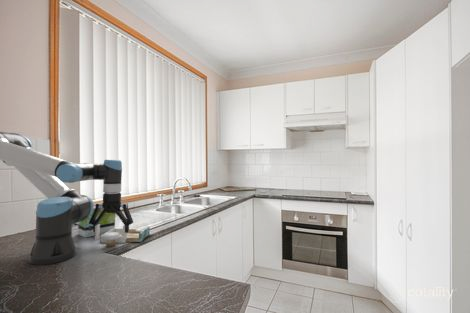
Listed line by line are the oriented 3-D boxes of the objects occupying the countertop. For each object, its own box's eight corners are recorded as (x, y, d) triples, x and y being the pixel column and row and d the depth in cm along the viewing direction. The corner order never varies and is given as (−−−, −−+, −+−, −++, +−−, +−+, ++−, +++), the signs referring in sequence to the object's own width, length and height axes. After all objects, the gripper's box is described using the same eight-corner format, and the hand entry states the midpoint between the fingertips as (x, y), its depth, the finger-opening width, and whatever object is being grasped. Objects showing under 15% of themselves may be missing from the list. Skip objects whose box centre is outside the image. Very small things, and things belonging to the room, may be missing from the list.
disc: (114, 240, 108) (114, 236, 108) (99, 240, 108) (99, 236, 108) (122, 235, 115) (122, 232, 115) (107, 235, 115) (107, 232, 115)
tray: (140, 242, 116) (140, 233, 116) (114, 241, 116) (115, 233, 116) (149, 234, 129) (149, 226, 129) (126, 233, 128) (126, 226, 129)
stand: (112, 247, 109) (112, 239, 109) (104, 246, 109) (105, 239, 109) (116, 244, 113) (116, 236, 113) (108, 244, 113) (109, 236, 113)
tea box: (85, 238, 121) (86, 208, 121) (77, 234, 127) (78, 206, 127) (115, 231, 133) (116, 205, 133) (106, 228, 139) (107, 202, 139)
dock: (125, 242, 115) (125, 236, 115) (99, 242, 115) (99, 236, 115) (136, 234, 129) (136, 228, 129) (113, 233, 129) (113, 228, 129)
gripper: (141, 192, 116) (140, 237, 115) (90, 191, 115) (89, 236, 115) (135, 194, 108) (133, 242, 108) (81, 193, 108) (79, 241, 107)
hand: (110, 239), depth 111 cm, fingers open, 12 cm apart
